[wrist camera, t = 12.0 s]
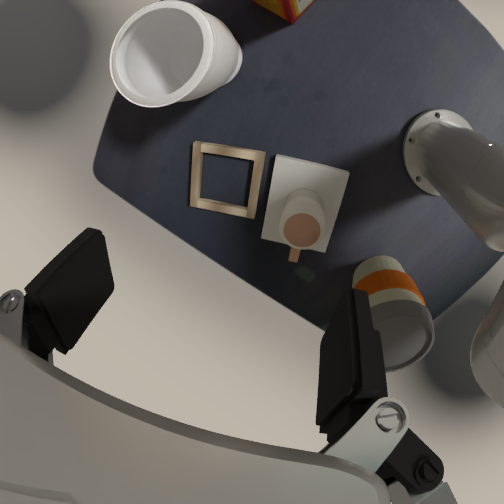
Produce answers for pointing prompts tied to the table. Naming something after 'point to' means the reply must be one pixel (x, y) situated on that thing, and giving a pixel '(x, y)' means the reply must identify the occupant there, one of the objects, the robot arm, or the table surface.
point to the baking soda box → (286, 8)
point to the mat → (303, 177)
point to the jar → (172, 54)
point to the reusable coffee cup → (395, 311)
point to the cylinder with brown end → (302, 221)
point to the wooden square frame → (233, 152)
